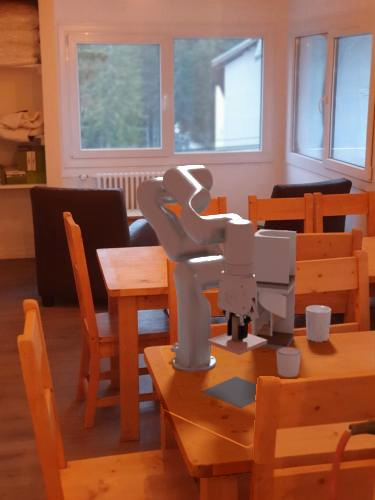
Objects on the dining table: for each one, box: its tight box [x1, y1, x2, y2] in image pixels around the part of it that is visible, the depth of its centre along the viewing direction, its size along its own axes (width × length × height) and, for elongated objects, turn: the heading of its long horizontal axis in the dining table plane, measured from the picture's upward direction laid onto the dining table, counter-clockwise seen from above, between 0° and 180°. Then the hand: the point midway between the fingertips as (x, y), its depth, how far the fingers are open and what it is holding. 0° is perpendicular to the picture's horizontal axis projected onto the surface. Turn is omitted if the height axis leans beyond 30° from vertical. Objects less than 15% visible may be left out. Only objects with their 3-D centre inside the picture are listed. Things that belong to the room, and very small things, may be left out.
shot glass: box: [275, 346, 302, 378], centre depth 196 cm, size 7×7×7 cm
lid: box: [207, 314, 267, 356], centre depth 182 cm, size 11×11×8 cm
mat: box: [200, 376, 257, 409], centre depth 186 cm, size 14×14×1 cm
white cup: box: [305, 304, 332, 343], centre depth 224 cm, size 8×8×10 cm
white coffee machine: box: [251, 228, 297, 350], centre depth 218 cm, size 11×11×35 cm
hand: (237, 336), depth 182 cm, fingers closed on lid, 3 cm apart
